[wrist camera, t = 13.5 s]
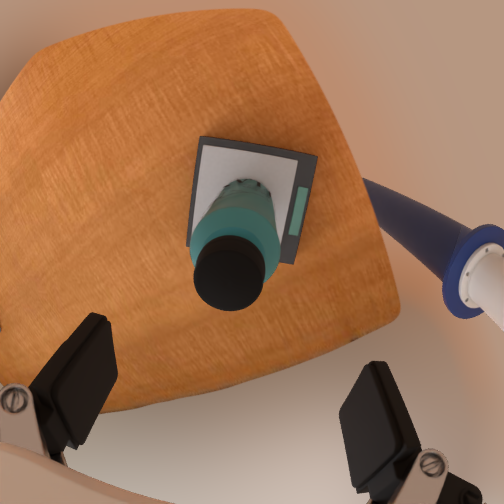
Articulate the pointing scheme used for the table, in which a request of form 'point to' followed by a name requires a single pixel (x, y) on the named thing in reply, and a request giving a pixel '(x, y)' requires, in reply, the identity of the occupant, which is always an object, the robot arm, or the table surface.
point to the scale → (260, 169)
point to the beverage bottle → (235, 246)
